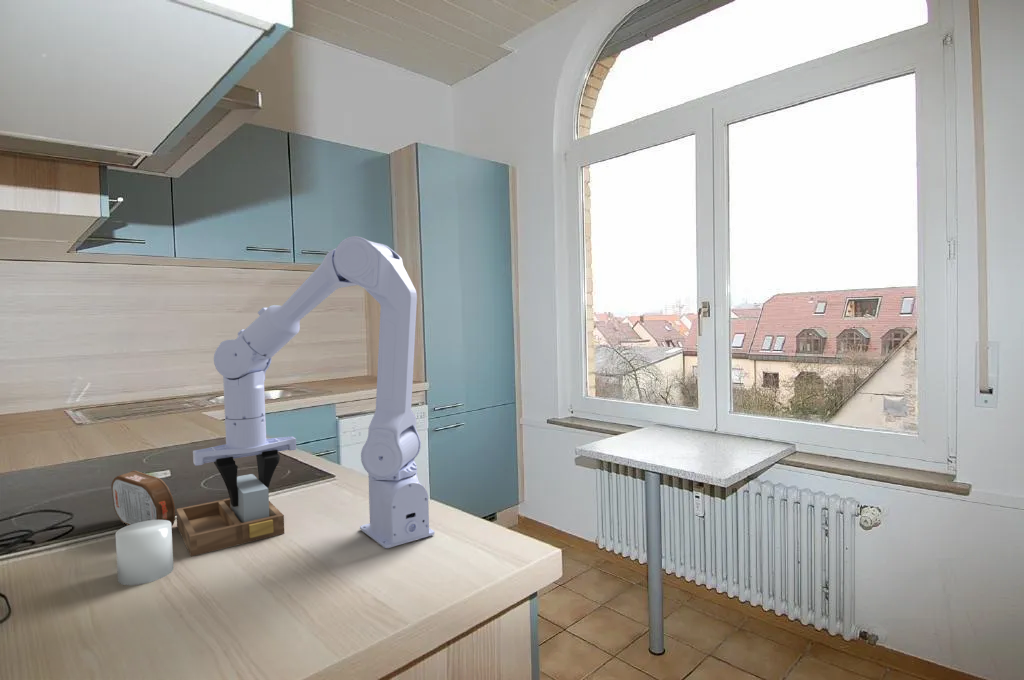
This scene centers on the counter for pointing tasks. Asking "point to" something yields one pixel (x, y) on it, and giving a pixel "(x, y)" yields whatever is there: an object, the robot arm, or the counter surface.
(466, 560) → the counter surface
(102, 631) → the counter surface
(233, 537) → the tray
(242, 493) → the grey rectangular block
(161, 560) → the white rounded pillar
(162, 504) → the tin
